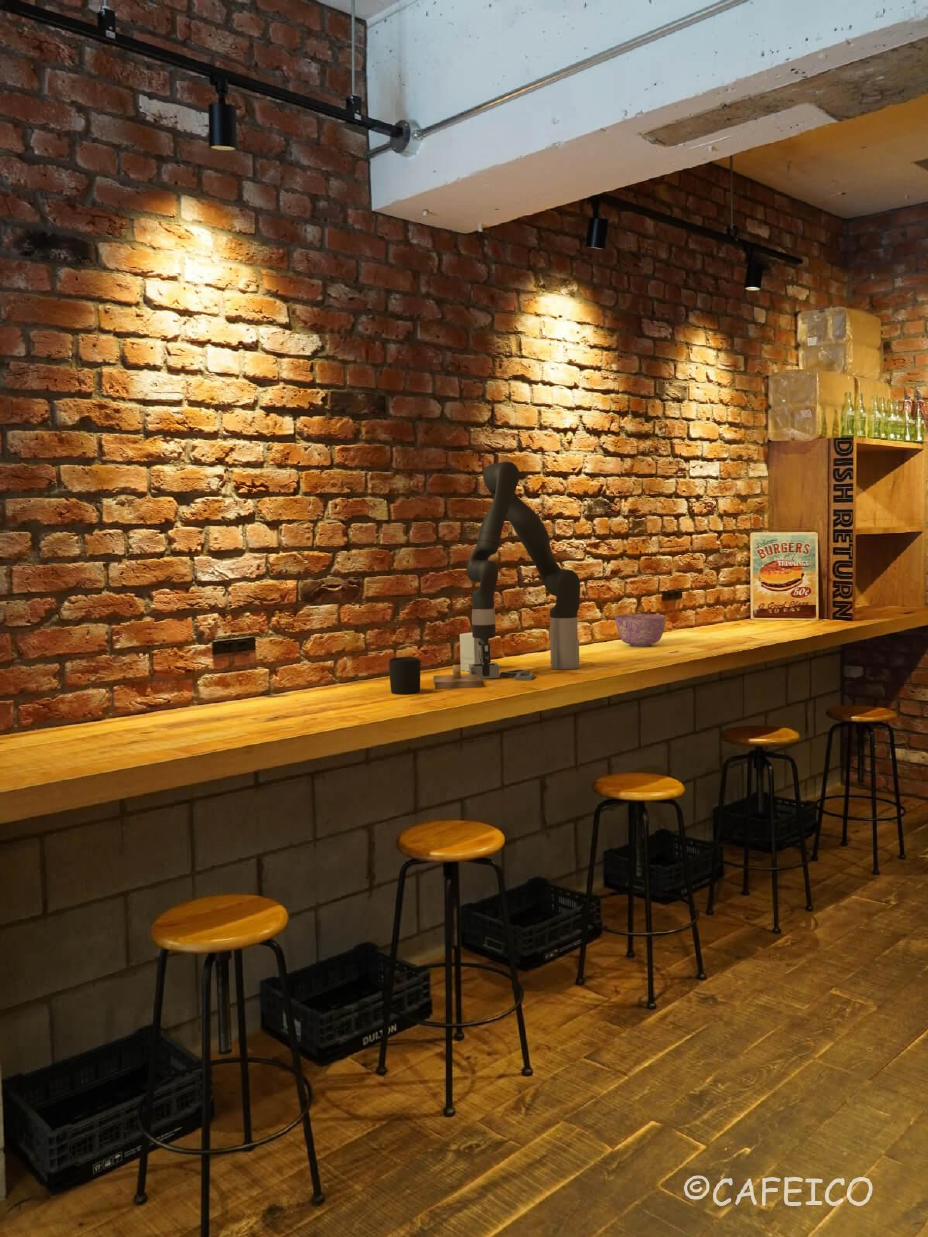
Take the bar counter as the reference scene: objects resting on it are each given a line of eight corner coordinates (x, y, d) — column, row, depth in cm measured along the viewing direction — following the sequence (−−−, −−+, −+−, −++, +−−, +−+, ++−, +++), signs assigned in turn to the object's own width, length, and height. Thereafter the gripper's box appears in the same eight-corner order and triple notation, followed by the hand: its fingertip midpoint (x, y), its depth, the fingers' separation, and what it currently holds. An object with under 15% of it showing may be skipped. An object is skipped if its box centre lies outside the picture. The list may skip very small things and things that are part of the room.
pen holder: (427, 691, 311) (426, 657, 310) (408, 695, 303) (407, 661, 303) (402, 688, 316) (401, 656, 316) (383, 693, 309) (382, 659, 308)
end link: (496, 675, 339) (496, 662, 338) (499, 677, 333) (499, 665, 332) (469, 676, 338) (468, 664, 337) (471, 679, 332) (471, 666, 332)
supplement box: (490, 670, 352) (490, 632, 351) (474, 672, 347) (473, 634, 346) (476, 668, 357) (475, 631, 356) (459, 670, 353) (458, 633, 351)
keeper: (477, 680, 329) (477, 661, 329) (481, 687, 315) (481, 667, 315) (433, 682, 328) (433, 663, 328) (435, 688, 315) (434, 669, 314)
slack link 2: (518, 676, 336) (518, 672, 336) (534, 676, 335) (534, 672, 335) (515, 680, 328) (515, 676, 328) (530, 680, 327) (530, 676, 327)
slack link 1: (519, 672, 344) (519, 669, 343) (529, 674, 340) (529, 670, 340) (501, 675, 339) (501, 671, 338) (511, 677, 335) (511, 673, 335)
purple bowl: (611, 648, 402) (610, 618, 401) (619, 642, 421) (618, 614, 420) (663, 649, 396) (663, 619, 395) (669, 643, 415) (669, 614, 414)
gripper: (497, 624, 327) (499, 677, 328) (493, 620, 341) (494, 671, 343) (473, 625, 326) (475, 678, 328) (470, 621, 341) (471, 672, 342)
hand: (485, 674), depth 335 cm, fingers closed on end link, 6 cm apart
